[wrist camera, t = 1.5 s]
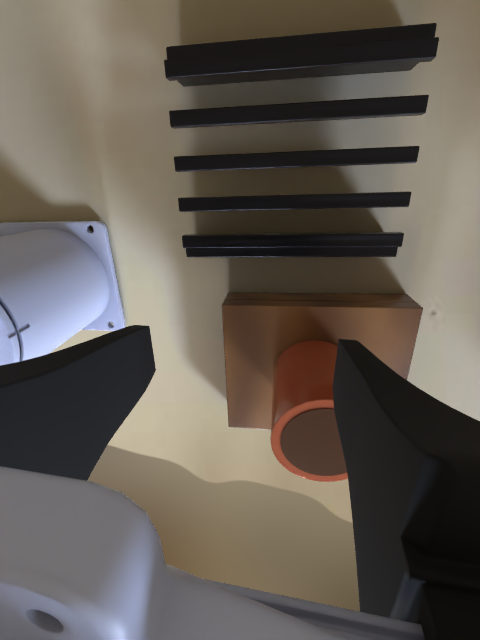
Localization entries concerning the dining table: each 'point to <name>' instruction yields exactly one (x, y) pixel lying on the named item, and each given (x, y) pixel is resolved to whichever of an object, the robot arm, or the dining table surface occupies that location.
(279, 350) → the brown square slab
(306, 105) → the rack
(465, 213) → the dining table surface
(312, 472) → the cup
